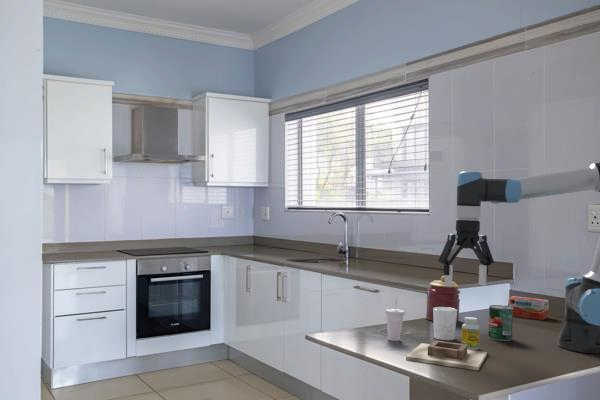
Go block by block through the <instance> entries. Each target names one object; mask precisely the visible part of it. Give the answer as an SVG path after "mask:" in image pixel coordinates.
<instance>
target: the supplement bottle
mask: <svg viewBox="0 0 600 400" xmlns="http://www.w3.org/2000/svg"><path fill="white" fill-rule="evenodd" d="M463 319H464V320H463V321H464V323H463V324H462V325H461V344H466V345H468V347H467V349H468V350H476V351H478V350H479V347H480V325H478V318H477V317H472V316H465V317H464V318H463Z"/></svg>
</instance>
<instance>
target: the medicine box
mask: <svg viewBox="0 0 600 400" xmlns="http://www.w3.org/2000/svg"><path fill="white" fill-rule="evenodd" d="M507 303H508V304H507V306H509V307H513V317H516V318H517V317H518V318H522V319H532V320H537V319H538V321H545V320H546V319H548V318H549V306H550V305H549V300H548V299H543V298H542V299H541V298H533V297H526V296H525V297H524V296H516V295H513V296H509V297H508V302H507ZM544 319H545V320H544Z"/></svg>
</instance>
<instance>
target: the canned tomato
mask: <svg viewBox="0 0 600 400" xmlns="http://www.w3.org/2000/svg"><path fill="white" fill-rule="evenodd" d="M488 309H489V310H488V331H487V338H488V339H490V340H493V341H499V342H500V341H501V342H510V341H512V340H513V338H512V337H513V336H512V335H513V320H514V319H513V318H514V316H513V307H509V306H508V305H501V304H492V305H489V307H488Z"/></svg>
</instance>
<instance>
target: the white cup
mask: <svg viewBox="0 0 600 400" xmlns="http://www.w3.org/2000/svg"><path fill="white" fill-rule="evenodd" d="M456 317H457V309H454V308H448V307H434V308H433V321H432V322H433V324H432V325H433V338H434V339H436V340H438V341H453V340H455V333H456V329H457V328H456V325H457V322H456Z"/></svg>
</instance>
